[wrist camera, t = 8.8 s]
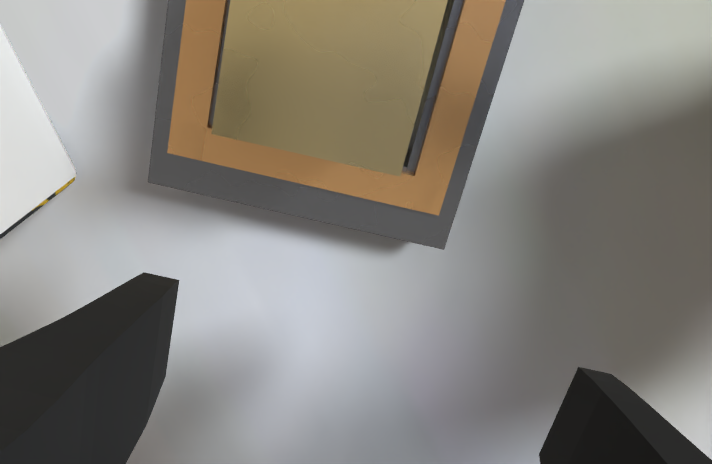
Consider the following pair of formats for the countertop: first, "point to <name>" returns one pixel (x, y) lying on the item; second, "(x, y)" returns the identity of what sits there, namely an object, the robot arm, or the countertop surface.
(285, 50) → the tan rectangular block
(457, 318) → the countertop surface
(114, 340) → the robot arm
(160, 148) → the grey rectangular frame
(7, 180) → the medicine bottle
